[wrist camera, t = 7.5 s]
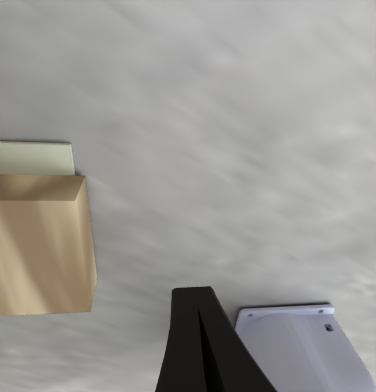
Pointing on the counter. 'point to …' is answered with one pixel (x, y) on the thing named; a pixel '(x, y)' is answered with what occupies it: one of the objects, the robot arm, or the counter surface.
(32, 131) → the counter surface
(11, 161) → the sage mat
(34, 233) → the maple tile
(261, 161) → the counter surface
